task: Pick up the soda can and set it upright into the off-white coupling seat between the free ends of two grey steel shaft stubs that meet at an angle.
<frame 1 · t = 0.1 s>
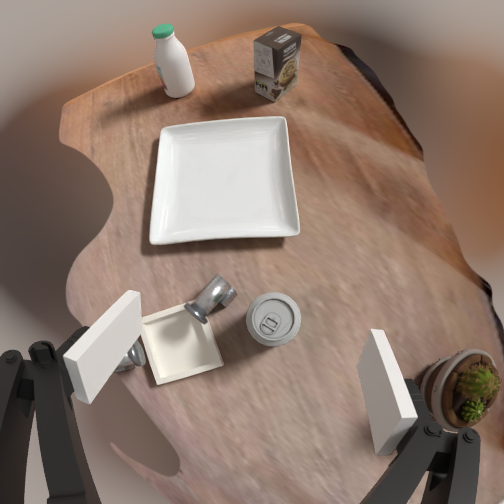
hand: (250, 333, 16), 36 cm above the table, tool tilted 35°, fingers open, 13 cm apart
milk bottle: (180, 89, 68), on the table
shaft A: (134, 356, 50), on the table
coupling seat: (180, 342, 51), on the table
flowerpot: (440, 385, 46), on the table
square plate: (223, 181, 60), on the table
coffee box: (276, 88, 67), on the table
soda can: (271, 323, 51), on the table
shaft B: (215, 302, 53), on the table
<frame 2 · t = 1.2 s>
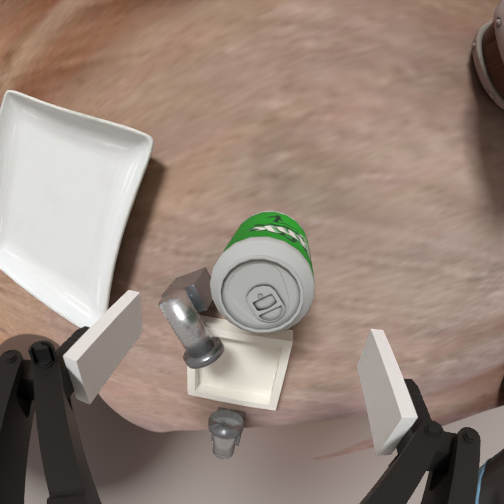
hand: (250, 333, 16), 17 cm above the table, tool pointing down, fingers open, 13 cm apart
shaft A: (232, 407, 40), on the table
coupling seat: (237, 360, 37), on the table
flowerpot: (500, 72, 21), on the table
square plate: (55, 205, 34), on the table
soda can: (271, 243, 32), on the table
shaft B: (203, 299, 35), on the table
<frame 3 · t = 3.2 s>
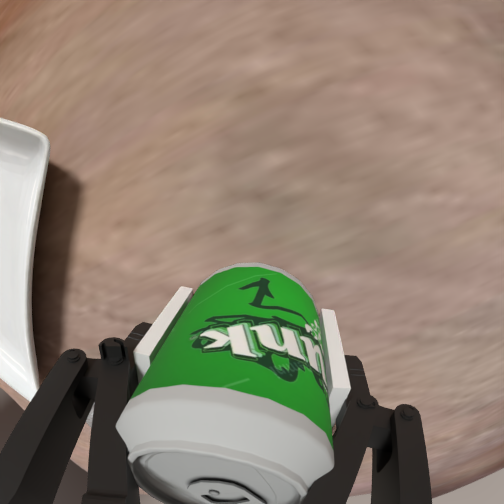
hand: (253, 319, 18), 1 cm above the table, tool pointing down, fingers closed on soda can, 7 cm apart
soda can: (255, 311, 19), on the table, touching gripper
when the fingers open (3 cm above the table, at t = 8.6 s): soda can drops 2 cm, resting on coupling seat.
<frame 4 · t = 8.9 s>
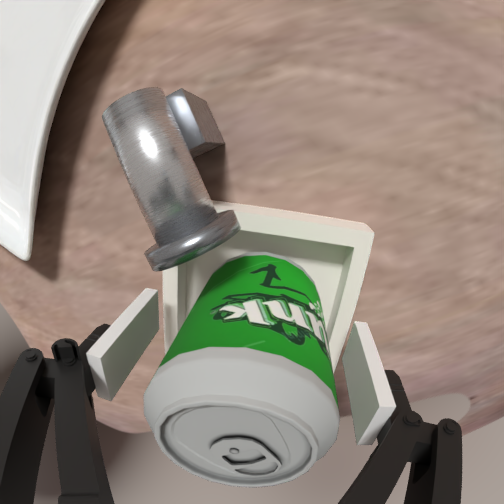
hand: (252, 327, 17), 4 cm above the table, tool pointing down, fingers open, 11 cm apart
coupling seat: (259, 295, 21), on the table
square plate: (3, 75, 17), on the table
soda can: (262, 298, 20), resting on coupling seat
shaft B: (199, 164, 18), on the table
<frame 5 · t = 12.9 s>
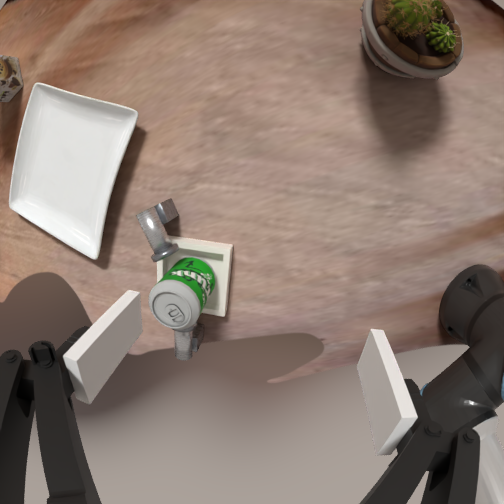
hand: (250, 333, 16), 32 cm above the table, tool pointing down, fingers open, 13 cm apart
shaft A: (193, 320, 54), on the table
coupling seat: (195, 273, 51), on the table
flowerpot: (393, 46, 35), on the table
square plate: (69, 163, 48), on the table
coffee box: (13, 79, 42), on the table
soda can: (196, 274, 51), resting on coupling seat
shaft B: (170, 222, 48), on the table
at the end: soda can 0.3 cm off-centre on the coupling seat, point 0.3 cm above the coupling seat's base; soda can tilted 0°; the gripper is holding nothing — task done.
